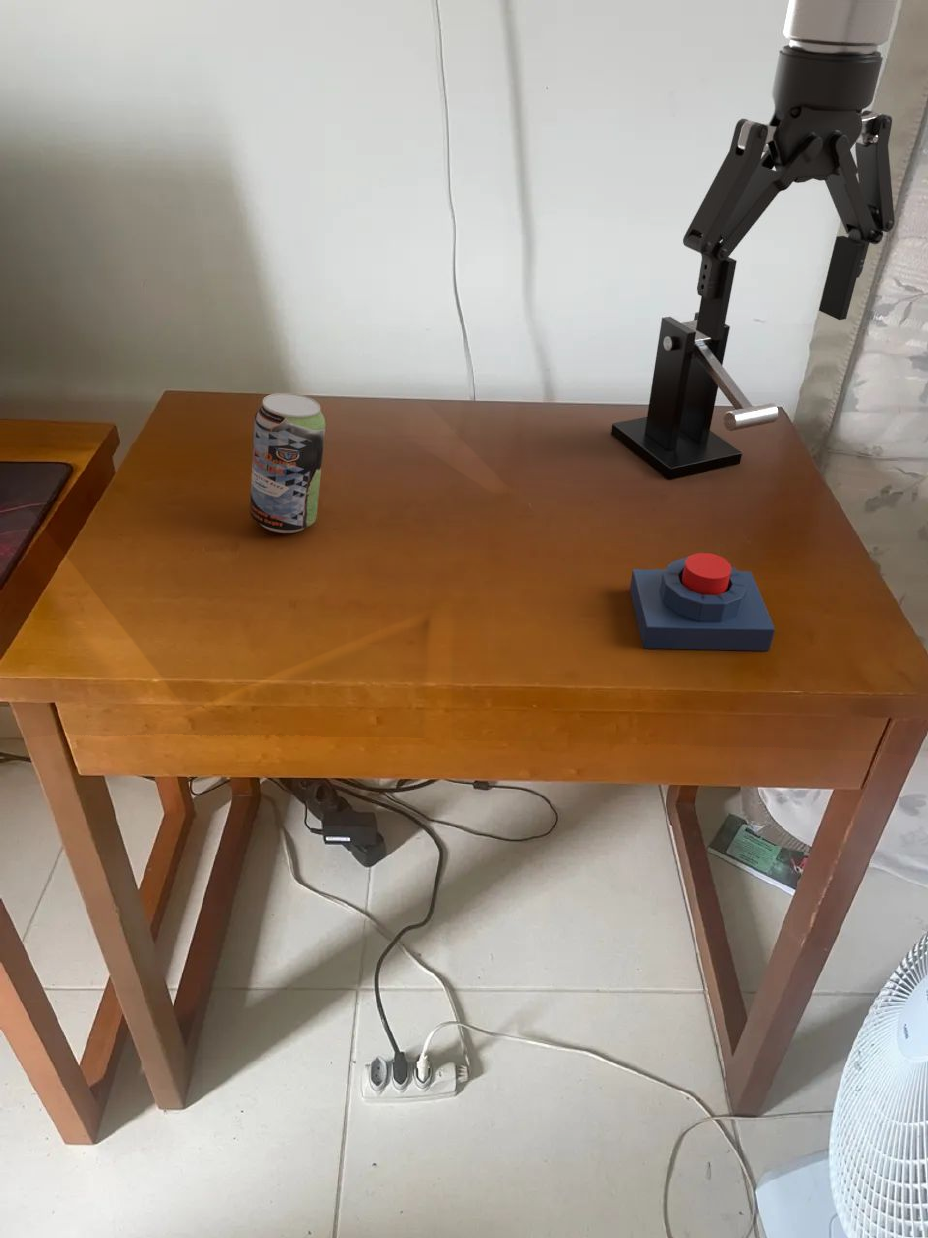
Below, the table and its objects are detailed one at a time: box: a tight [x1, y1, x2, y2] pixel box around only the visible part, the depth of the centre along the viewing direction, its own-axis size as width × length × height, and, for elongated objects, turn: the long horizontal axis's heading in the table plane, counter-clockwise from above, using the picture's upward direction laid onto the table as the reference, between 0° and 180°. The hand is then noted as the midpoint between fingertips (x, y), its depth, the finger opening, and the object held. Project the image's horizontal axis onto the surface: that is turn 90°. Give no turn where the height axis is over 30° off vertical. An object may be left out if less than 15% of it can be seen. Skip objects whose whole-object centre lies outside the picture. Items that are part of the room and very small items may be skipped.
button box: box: [629, 556, 776, 652], centre depth 79 cm, size 10×8×4 cm
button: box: [682, 552, 732, 595], centre depth 78 cm, size 4×4×2 cm
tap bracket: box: [610, 311, 743, 480], centre depth 100 cm, size 11×9×14 cm
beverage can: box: [249, 392, 326, 534], centre depth 87 cm, size 6×7×12 cm
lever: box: [681, 319, 779, 432], centre depth 95 cm, size 13×5×2 cm, turn 24°
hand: (772, 324), depth 86 cm, fingers open, 13 cm apart
